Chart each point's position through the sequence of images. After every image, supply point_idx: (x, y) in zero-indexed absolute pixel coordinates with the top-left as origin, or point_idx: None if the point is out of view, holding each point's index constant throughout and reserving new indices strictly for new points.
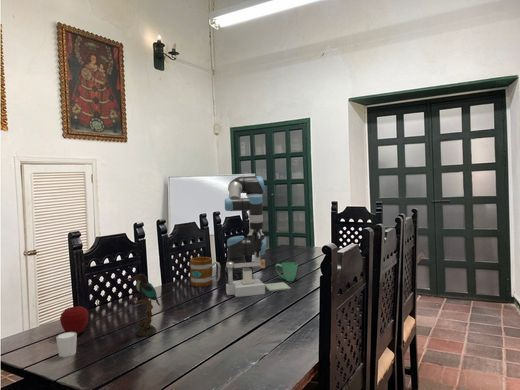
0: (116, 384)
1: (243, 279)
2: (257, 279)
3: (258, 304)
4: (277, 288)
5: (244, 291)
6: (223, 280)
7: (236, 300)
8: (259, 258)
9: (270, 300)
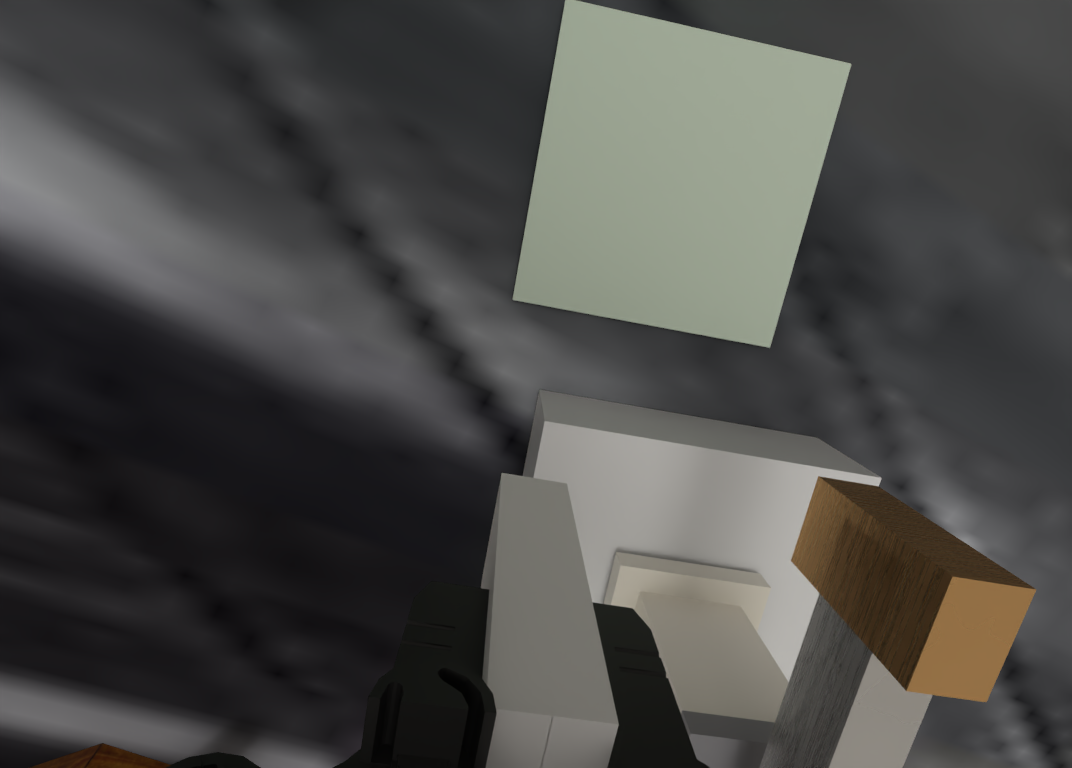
0: None
1: None
2: (586, 451)
3: (1039, 616)
4: (778, 240)
5: None
6: (65, 626)
7: None
8: (576, 552)
9: (1024, 480)
